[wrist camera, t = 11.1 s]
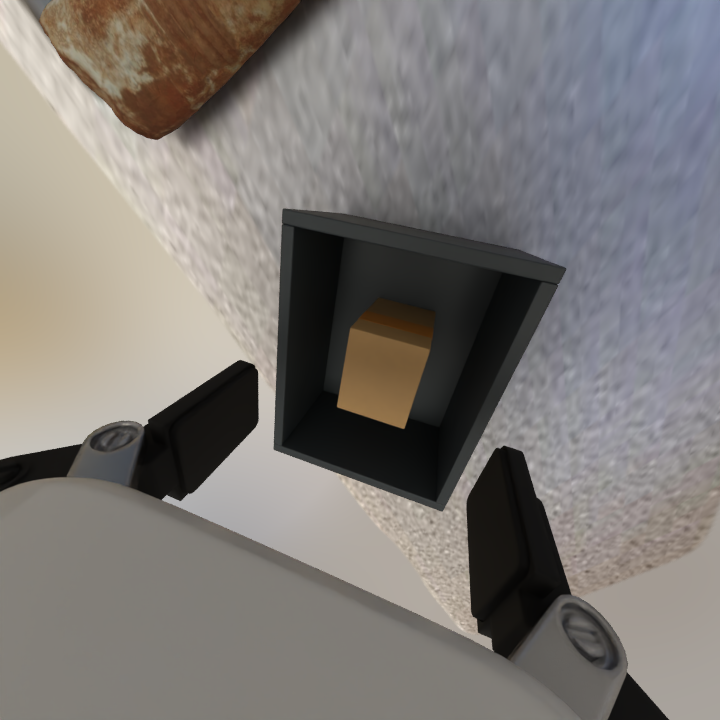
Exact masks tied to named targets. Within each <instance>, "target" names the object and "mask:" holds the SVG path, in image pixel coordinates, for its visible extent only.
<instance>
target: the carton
mask: <svg viewBox="0 0 720 720" xmlns="http://www.w3.org/2000/svg"><path fill="white" fill-rule="evenodd" d="M435 314H436V312H434V311H430V310H426V309H422V308H418V307H414V306H410V305H406V304H402V303H398V302H394V301H390V300H387V299H383V298H378V299H377V300H376V301H375V302H374V303H373V304H372V305H371V306H370V307H369V308H368V310H367V311H365V312H364V313H363V314H362V315H361V316H360V317H359V319H358V320H357V321H356V322H355V323H354V325H353V326H352V327H351V328H350V332H349V338H348V344H347V350H346V356H345V362H344V367H343V373H342V379H341V385H340V391H339V397H338V403H337V407H338V408H341V409H344V410H347V411H350V412H353V413H356V414H359V415H362V416H365V417H368V418H372V419H375V420H378V421H381V422H384V423H387V424H390V425H393V426H396V427H399V428H402V429H404V428H405V426H406V422H407V419H408V416H409V413H410V410H411V407H412V404H413V401H414V398H415V395H416V392H417V389H418V386H419V383H420V380H421V377H422V374H423V371H424V368H425V365H426V362H427V359H428V356H429V353H430V349H431V342H432V338H433V331H434V321H435Z"/></svg>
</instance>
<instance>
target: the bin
mask: <svg viewBox="0 0 720 720" xmlns="http://www.w3.org/2000/svg"><path fill="white" fill-rule="evenodd" d="M282 223H283V225H282V240H281V266H280V293H279V320H278V347H277V373H276V400H275V429H274V450H276V451H279V452H281V453H284V454H287V455H290V456H292V457H295V458H298V459H301V460H303V461H306V462H309V463H311V464H314V465H317V466H320V467H322V468H325V469H328V470H330V471H333V472H336V473H339V474H341V475H344V476H347V477H349V478H352V479H355V480H358V481H360V482H363V483H366V484H369V485H371V486H374V487H377V488H379V489H382V490H385V491H388V492H390V493H393V494H396V495H398V496H401V497H404V498H407V499H409V500H412V501H415V502H418V503H420V504H423V505H426V506H428V507H431V508H434V509H437V510H439V511H443V510H444V508H445V506H446V504H447V502H448V500H449V498H450V496H451V494H452V492H453V490H454V489H455V487H456V485H457V483H458V481H459V479H460V477H461V475H462V473H463V471H464V469H465V467H466V465H467V463H468V461H469V459H470V457H471V455H472V453H473V451H474V449H475V447H476V446H477V444H478V442H479V440H480V438H481V436H482V434H483V432H484V430H485V428H486V426H487V424H488V422H489V420H490V418H491V416H492V414H493V412H494V410H495V408H496V406H497V404H498V402H499V401H500V399H501V397H502V395H503V393H504V391H505V389H506V387H507V385H508V383H509V381H510V379H511V377H512V375H513V373H514V371H515V369H516V367H517V365H518V363H519V361H520V359H521V358H522V356H523V354H524V352H525V350H526V348H527V346H528V344H529V342H530V340H531V338H532V336H533V334H534V332H535V330H536V328H537V326H538V324H539V322H540V320H541V318H542V316H543V315H544V313H545V311H546V309H547V307H548V305H549V303H550V301H551V299H552V297H553V295H554V293H555V291H556V289H557V287H558V285H557V284H559V283H560V281H561V279H562V277H563V275H564V273H565V271H566V268H564V267H562V266H559V265H557V264H554V263H551V262H549V261H546V260H544V259H541V258H538V257H536V256H533V255H531V254H528V253H526V252H523V251H520V250H517V249H512V248H507V247H502V246H498V245H493V244H488V243H483V242H478V241H473V240H469V239H464V238H459V237H454V236H449V235H444V234H440V233H435V232H430V231H425V230H420V229H415V228H410V227H406V226H401V225H396V224H391V223H386V222H381V221H377V220H372V219H367V218H362V217H357V216H352V215H347V214H342V213H330V212H319V211H307V210H296V209H283V213H282ZM378 298H383V299H387V300H390V301H394V302H398V303H402V304H406V305H410V306H414V307H418V308H422V309H426V310H430V311H434V312H436V314H435V321H434V331H433V338H432V342H431V349H430V353H429V356H428V359H427V362H426V365H425V368H424V371H423V374H422V377H421V380H420V383H419V386H418V389H417V392H416V395H415V398H414V401H413V404H412V407H411V410H410V413H409V416H408V419H407V422H406V426H405V428H404V429H402V428H399V427H396V426H393V425H390V424H387V423H384V422H381V421H378V420H375V419H372V418H368V417H365V416H362V415H359V414H356V413H353V412H350V411H347V410H344V409H341V408H338V407H337V403H338V397H339V391H340V385H341V379H342V373H343V367H344V362H345V356H346V350H347V344H348V338H349V332H350V328H351V327H352V326H353V325H354V323H355V322H356V321H357V320H358V319H359V317H360V316H361V315H362V314H363V313H364V312H365V311H367V310H368V308H369V307H370V306H371V305H372V304H373V303H374V302H375V301H376V300H377V299H378Z"/></svg>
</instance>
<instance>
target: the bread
mask: <svg viewBox="0 0 720 720" xmlns="http://www.w3.org/2000/svg"><path fill="white" fill-rule="evenodd" d="M300 1H301V0H52V1H51V2H50V3H48V4H47V6H46V7H45V9H44V10H43V12H42V15H41V17H40V20H39V22H40V24H41V26H42V27H43V29H44V32H45V34H46V35H47V36H48V37H49V38H50V40H51V43H52V44H53V46H54V47H55V49H56V50H57V52H58V54H59V56H60V58H61V59H62V60H63V62H64V63H65V64H66V65H67V66H68V67H69V68H70V69H72V70H73V71H74V72H75V73H76V74H77V75H78V77H79V78H80V79H81V80H82V81H83V82H84V83H85V84H86V85H87V86H88V87H89V88H90V89H91V90H93V91H94V92H95V93H96V94H97V95H98V96H99V97H101V98H102V99H103V100H104V101H105V102H106V103H107V104H108V105H109V106H110V107H111V108H112V110H113V112H114V113H115V115H116V116H117V117H118V118H119V120H120V121H121V122H122V123H123V124H124V125H125V126H127V127H129V128H130V129H132V130H133V131H134V132H136V133H137V134H140V135H143V136H145V137H146V138H150V139H155V140H158V139H160V138H162V137H163V136H165V135H167V134H169V133H171V132H173V131H174V130H176V129H178V128H179V127H180V126H181V125H182V124H183V123H185V122H186V121H187V120H188V119H189V118H190V117H191V116H192V115H193V114H194V113H196V112H197V111H198V110H199V109H200V107H201V106H202V105H203V104H204V103H205V102H207V101H208V100H209V99H210V98H211V97H212V96H213V95H214V94H215V93H216V92H217V91H218V90H219V89H220V88H222V87H223V86H224V85H225V84H226V83H227V82H228V81H229V79H230V78H231V77H232V76H233V75H234V74H235V73H236V72H237V71H238V70H239V69H240V68H241V66H242V65H243V64H244V63H245V62H246V61H247V60H248V59H249V58H250V57H251V56H252V55H253V54H254V53H255V52H256V50H258V49H259V48H260V47H261V46H262V44H263V43H264V42H265V41H266V40H267V39H268V38H269V37H270V35H271V34H272V33H273V32H274V31H275V29H276V28H277V27H278V26H279V25H280V24H281V23H282V22H283V21H284V20H285V19H286V18H287V17H288V15H289V14H290V13H291V12H292V11H293V10H294V9H295V7H296V6H297V5H298V4H299V3H300Z"/></svg>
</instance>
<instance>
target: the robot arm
mask: <svg viewBox="0 0 720 720" xmlns="http://www.w3.org/2000/svg"><path fill="white" fill-rule="evenodd" d="M258 419H259V418H258V370H257V369H255V366H254V365H253V364H251V363H248V362H245V361H242V360H239V361H237V362H235V363H234V364H232V365H231V366H229V367H228V368H226V369H225V370H223V371H222V372H220V373H219V374H217V375H216V376H214V377H213V378H211V379H210V380H208V381H206V382H205V383H203V384H202V385H200V386H199V387H197V388H196V389H195V390H193V391H191V392H190V393H188V394H187V395H185V396H184V397H182V398H181V399H179V400H178V401H176V402H175V403H173V404H172V405H170V406H169V407H167V408H166V409H164V410H163V411H161V412H159V413H158V414H157V415H155V416H153V417H152V418H150V419H149V420H148V424H147V425H145V426H144V427H143V426H142V425H141V424H139V423H137V422H134V421H119V422H114V423H110V424H107V425H105V426H102V427H101V428H99V429H96V430H95V431H93V432H92V433H91V434H90V435H88V437H87V438H86V439H85V440H84V442H83V444H79V445H73V446H68V447H63V448H57V449H52V450H46V451H41V452H36V453H30V454H25V455H19V456H14V457H9V458H6V459H2V460H0V720H669V719H668V718H667V717H666V716H665V715H664V714H663V712H662V711H661V710H660V709H659V708H658V707H657V706H656V704H655V703H654V702H653V701H652V700H651V699H650V698H649V697H648V695H647V694H646V693H645V692H644V691H643V690H642V689H641V687H640V686H639V685H638V684H637V683H636V682H635V681H634V680H633V678H632V677H631V676H630V675H629V674H628V673H627V666H628V663H627V658H626V653H625V650H624V648H623V646H622V643H621V642H620V639H619V637H618V636H617V634H616V633H615V631H614V630H613V628H612V627H611V625H610V624H609V623H608V622H607V620H606V619H605V618H604V617H603V616H602V615H601V614H600V613H599V612H598V611H597V610H596V609H595V608H594V607H592V606H591V605H590V604H589V603H587V602H585V601H584V600H582V599H580V598H579V597H576V596H572V595H571V592H570V589H569V585H568V582H567V579H566V576H565V573H564V569H563V566H562V563H561V560H560V557H559V553H558V550H557V547H556V544H555V541H554V537H553V534H552V531H551V528H550V525H549V521H548V518H547V515H546V512H545V509H544V506H543V504H542V502H541V501H540V499H538V498H537V497H536V494H535V491H534V487H533V484H532V481H531V477H530V474H529V470H528V467H527V464H526V460H525V457H524V454H523V452H522V451H519V450H516V449H513V448H510V447H507V446H503V447H502V448H501V449H499V448H496V449H495V450H494V452H493V454H492V455H491V457H490V459H489V461H488V462H487V464H486V466H485V468H484V469H483V471H482V473H481V475H480V476H479V478H478V480H477V482H476V483H475V485H474V487H473V489H472V491H471V492H470V494H469V496H468V499H467V528H468V551H469V573H470V596H471V612H472V615H473V617H475V618H477V625H478V633H480V634H482V635H485V636H487V637H489V638H491V639H492V647H493V650H494V652H493V651H491V650H489V649H488V648H485V647H484V646H482V645H480V644H478V643H476V642H474V641H473V640H471V639H469V638H466V637H464V636H462V635H460V634H458V633H456V632H454V631H452V630H450V629H447V628H445V627H443V626H441V625H439V624H437V623H435V622H432V621H430V620H429V619H426V618H424V617H422V616H420V615H418V614H416V613H414V612H412V611H409V610H407V609H405V608H403V607H401V606H398V605H396V604H394V603H391V602H389V601H387V600H385V599H383V598H380V597H378V596H376V595H374V594H372V593H370V592H367V591H365V590H363V589H361V588H359V587H356V586H354V585H352V584H350V583H348V582H345V581H343V580H340V579H339V578H337V577H334V576H332V575H330V574H328V573H325V572H323V571H321V570H319V569H316V568H314V567H312V566H309V565H307V564H305V563H303V562H301V561H299V560H296V559H294V558H292V557H290V556H287V555H285V554H283V553H280V552H278V551H276V550H274V549H271V548H269V547H267V546H265V545H263V544H260V543H258V542H256V541H253V540H252V539H249V538H247V537H245V536H243V535H240V534H238V533H236V532H233V531H231V530H229V529H227V528H224V527H222V526H220V525H218V524H215V523H213V522H210V521H208V520H206V519H204V518H202V517H199V516H197V515H195V514H192V513H190V512H188V511H186V510H183V509H181V508H179V507H176V506H174V505H172V504H169V503H167V502H164V501H162V499H163V498H164V497H165V496H166V495H168V496H170V497H173V498H175V499H177V500H179V501H181V500H182V499H183V498H184V497H185V496H186V495H187V494H188V493H189V494H190V493H193V492H194V491H195V490H196V489H197V488H198V487H199V486H200V485H201V484H202V483H203V482H204V481H205V480H206V479H207V477H209V476H210V475H211V473H213V471H214V470H215V469H216V468H217V467H218V466H219V465H220V464H221V463H222V462H223V461H224V460H225V459H226V458H227V457H228V456H229V455H230V453H232V451H233V450H234V449H235V448H236V447H237V446H238V445H239V444H240V443H241V442H242V441H243V440H244V439H245V438H246V437H247V435H249V434H250V433H251V431H252V430H253V429H254V428H255V427H256V425H257V423H258Z"/></svg>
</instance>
